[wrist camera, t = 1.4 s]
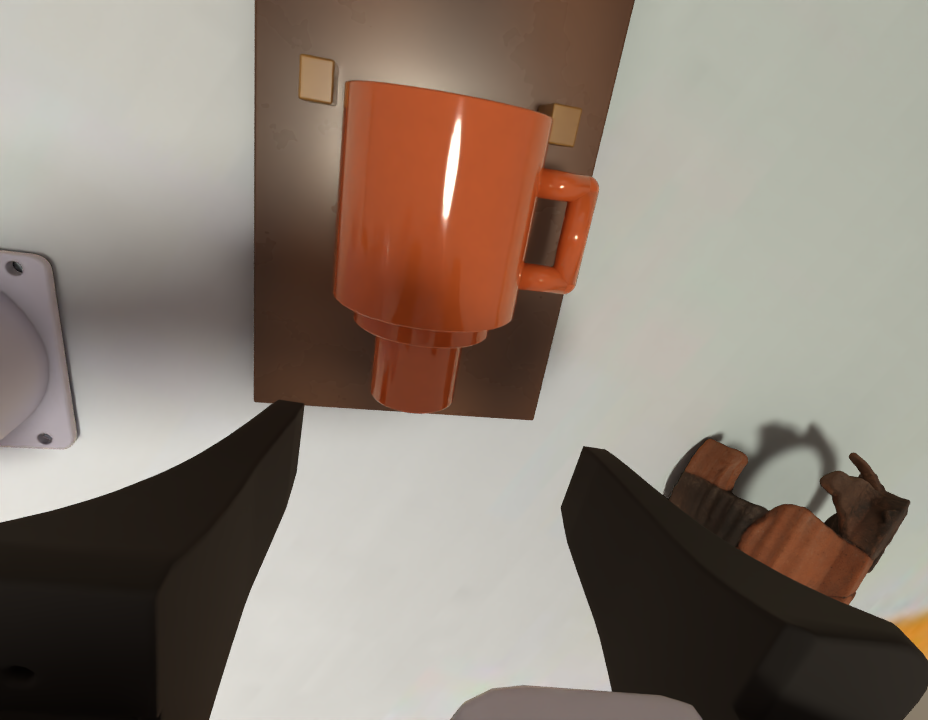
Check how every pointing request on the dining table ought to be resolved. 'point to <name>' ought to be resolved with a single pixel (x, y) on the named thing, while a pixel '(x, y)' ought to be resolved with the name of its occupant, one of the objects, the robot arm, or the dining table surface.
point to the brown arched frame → (795, 521)
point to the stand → (318, 164)
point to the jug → (443, 228)
